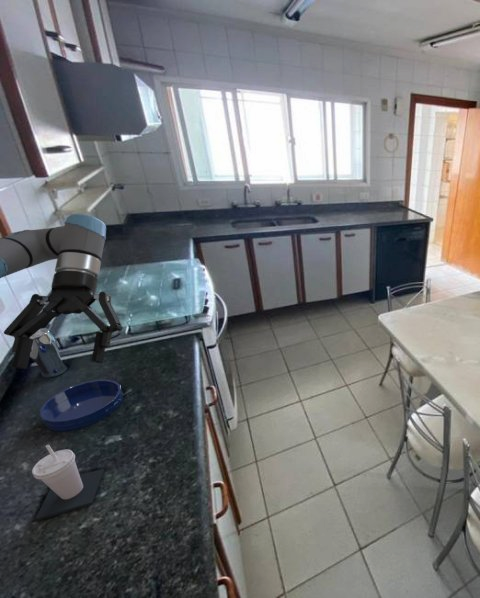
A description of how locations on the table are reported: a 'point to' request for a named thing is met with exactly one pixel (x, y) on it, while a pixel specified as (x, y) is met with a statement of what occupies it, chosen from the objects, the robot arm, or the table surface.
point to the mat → (84, 498)
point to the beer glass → (46, 354)
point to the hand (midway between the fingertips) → (59, 365)
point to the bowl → (81, 405)
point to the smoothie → (59, 473)
